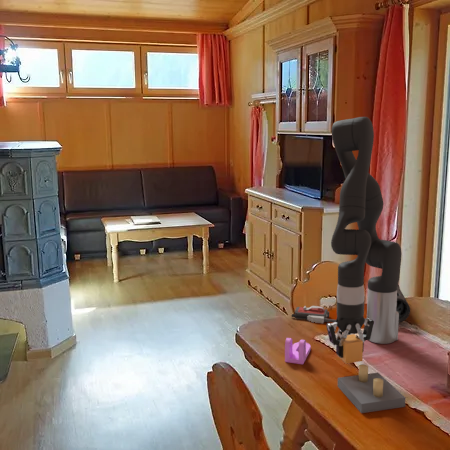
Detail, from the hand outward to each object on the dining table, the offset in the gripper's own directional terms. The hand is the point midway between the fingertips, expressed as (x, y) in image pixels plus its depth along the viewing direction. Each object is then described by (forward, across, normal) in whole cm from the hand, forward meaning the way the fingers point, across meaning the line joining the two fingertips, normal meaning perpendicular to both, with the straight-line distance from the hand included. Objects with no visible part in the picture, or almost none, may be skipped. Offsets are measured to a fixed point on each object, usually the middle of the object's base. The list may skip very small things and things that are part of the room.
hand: (349, 355), depth 151 cm
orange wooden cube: (+1, 0, 0) cm, 1 cm away
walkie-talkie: (+6, -9, -41) cm, 42 cm away
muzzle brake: (+7, -37, -40) cm, 55 cm away
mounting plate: (+5, +1, +14) cm, 15 cm away
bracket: (+6, +10, -15) cm, 19 cm away
